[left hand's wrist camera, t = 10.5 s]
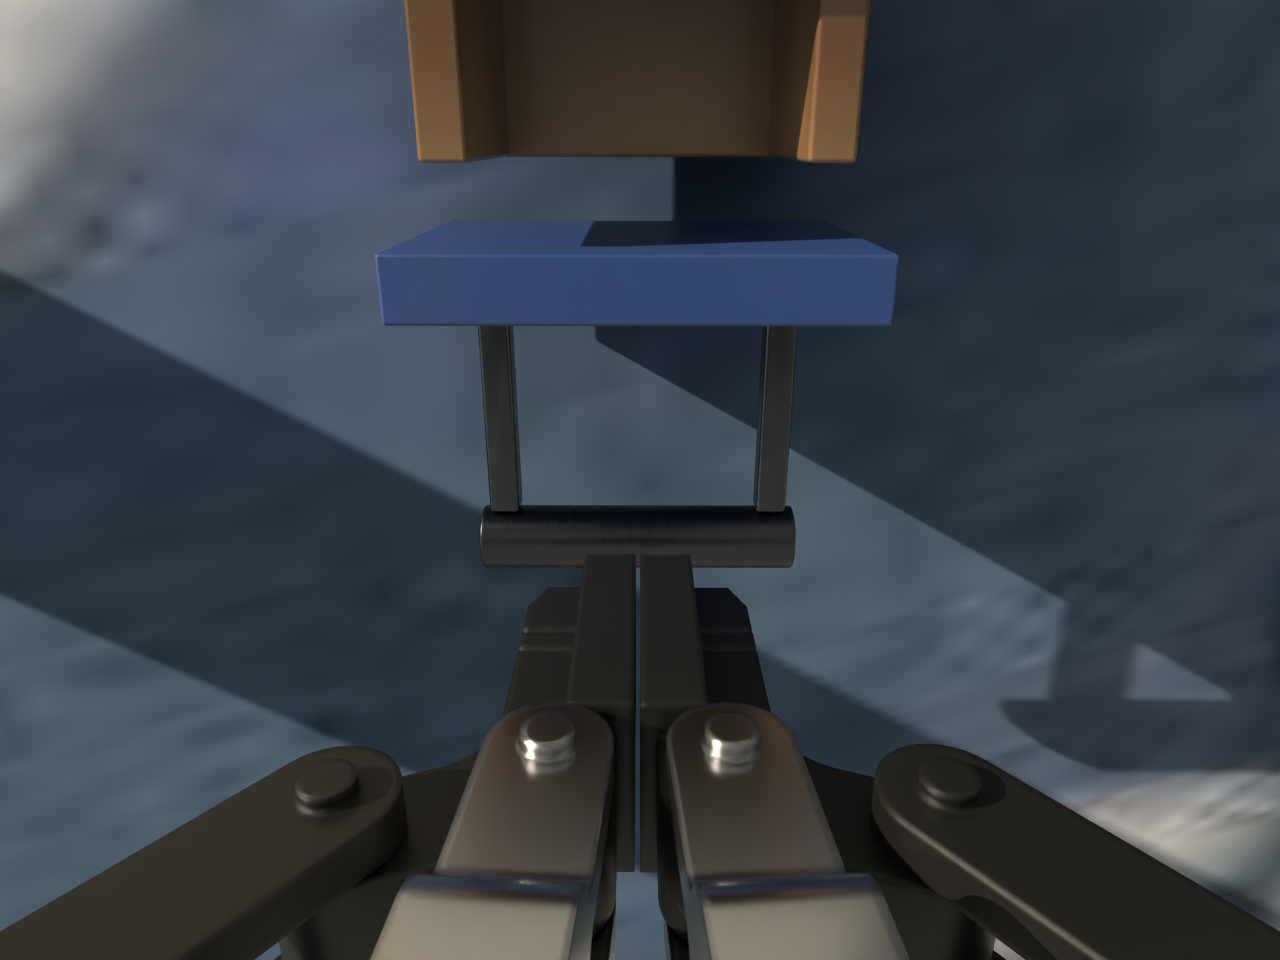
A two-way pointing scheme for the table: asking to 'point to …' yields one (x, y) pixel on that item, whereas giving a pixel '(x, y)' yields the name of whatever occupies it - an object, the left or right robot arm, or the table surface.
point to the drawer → (637, 224)
